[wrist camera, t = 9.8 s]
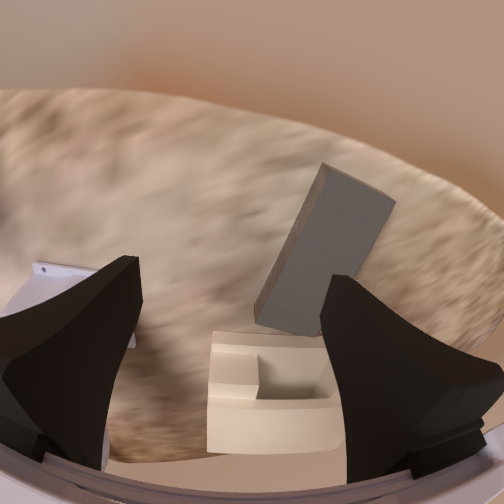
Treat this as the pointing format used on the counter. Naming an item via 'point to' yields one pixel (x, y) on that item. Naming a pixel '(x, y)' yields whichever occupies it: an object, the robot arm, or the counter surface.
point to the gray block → (321, 250)
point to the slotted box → (272, 395)
